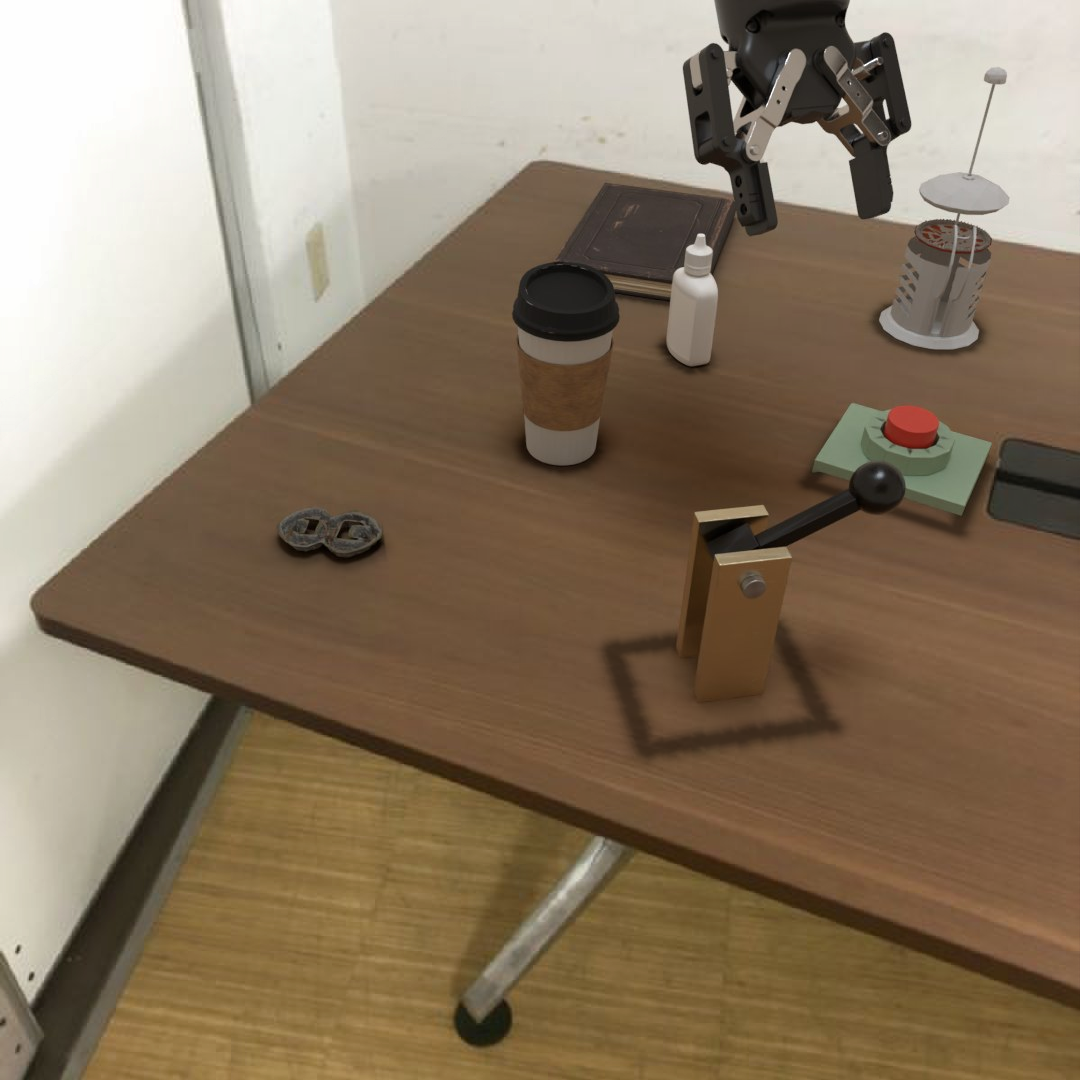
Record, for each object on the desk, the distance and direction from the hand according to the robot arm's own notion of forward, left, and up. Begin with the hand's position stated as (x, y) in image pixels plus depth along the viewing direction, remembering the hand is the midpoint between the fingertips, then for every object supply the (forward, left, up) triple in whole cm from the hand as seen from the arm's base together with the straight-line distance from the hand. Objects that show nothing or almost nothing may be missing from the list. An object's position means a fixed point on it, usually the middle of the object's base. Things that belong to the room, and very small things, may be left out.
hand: (820, 224), depth 66 cm
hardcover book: (+30, -45, -27) cm, 61 cm away
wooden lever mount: (-2, +13, -27) cm, 30 cm away
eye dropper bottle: (+17, -26, -27) cm, 41 cm away
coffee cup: (+20, -6, -27) cm, 34 cm away
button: (-6, -17, -23) cm, 30 cm away
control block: (-6, -17, -27) cm, 32 cm away
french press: (-2, -43, -27) cm, 51 cm away
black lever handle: (-6, +10, -15) cm, 19 cm away
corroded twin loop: (+29, +14, -27) cm, 42 cm away
